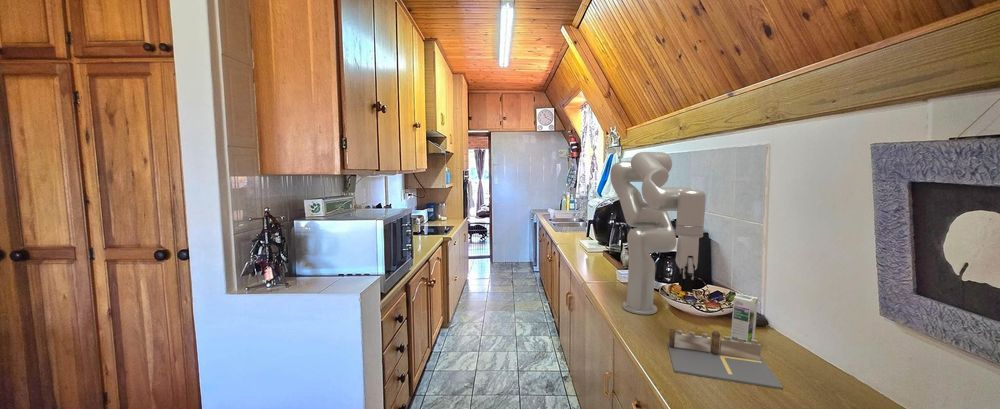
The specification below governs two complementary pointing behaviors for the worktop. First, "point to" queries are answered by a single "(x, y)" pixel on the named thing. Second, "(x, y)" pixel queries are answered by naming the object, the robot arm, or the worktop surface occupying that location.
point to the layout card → (722, 367)
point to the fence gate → (689, 340)
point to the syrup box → (744, 317)
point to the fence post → (735, 347)
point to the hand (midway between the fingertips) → (685, 288)
